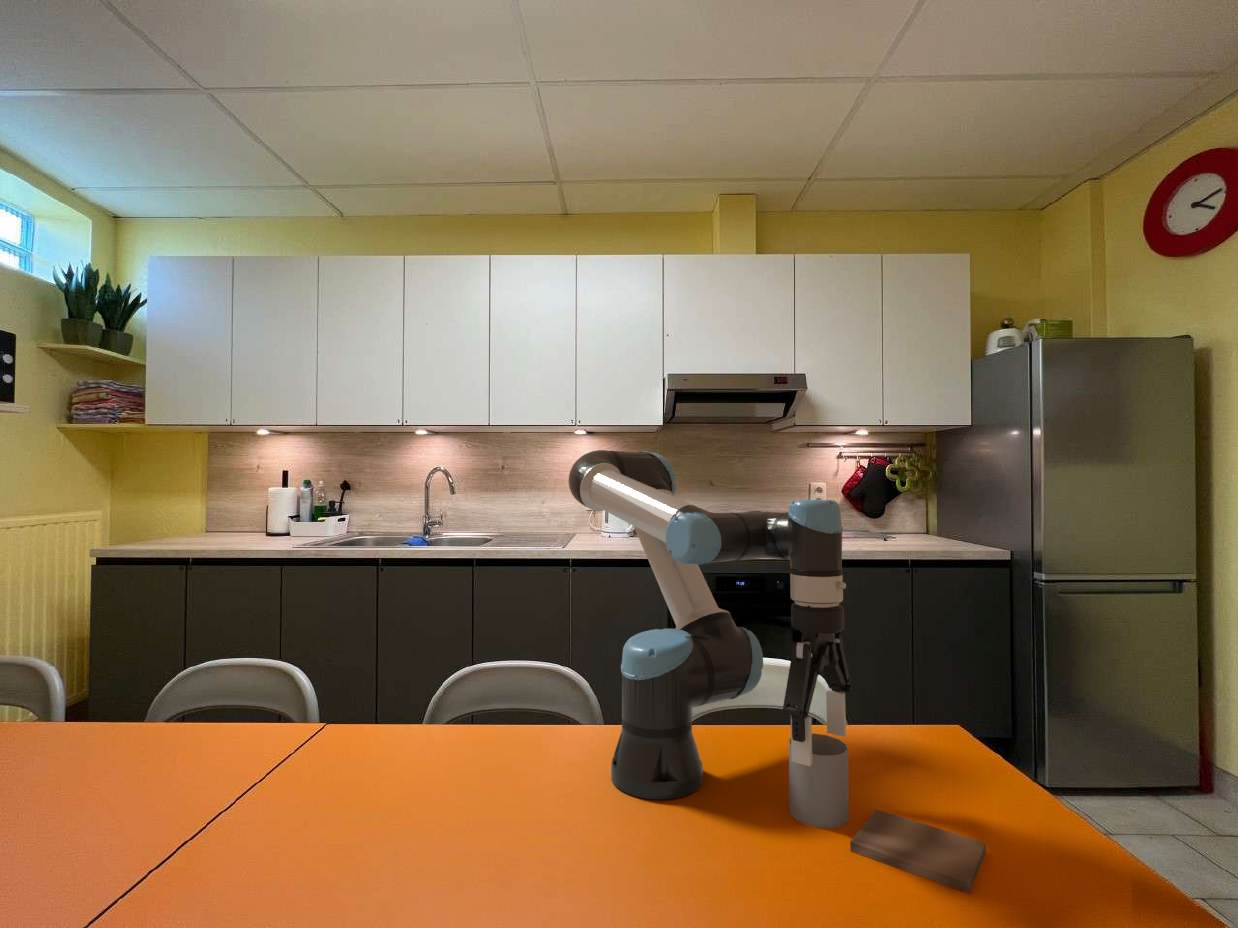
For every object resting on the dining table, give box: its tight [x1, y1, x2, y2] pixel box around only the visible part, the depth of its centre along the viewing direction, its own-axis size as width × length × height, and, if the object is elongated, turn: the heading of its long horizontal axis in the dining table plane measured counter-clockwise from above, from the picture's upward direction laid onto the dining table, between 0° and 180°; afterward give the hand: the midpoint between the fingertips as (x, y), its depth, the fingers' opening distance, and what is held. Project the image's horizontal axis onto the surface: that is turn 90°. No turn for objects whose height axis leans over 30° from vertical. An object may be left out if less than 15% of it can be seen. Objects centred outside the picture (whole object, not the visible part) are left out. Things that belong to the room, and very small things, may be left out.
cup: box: [788, 733, 850, 829], centre depth 93 cm, size 8×8×10 cm
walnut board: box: [849, 809, 987, 894], centre depth 83 cm, size 14×11×1 cm
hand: (820, 747), depth 93 cm, fingers open, 13 cm apart
